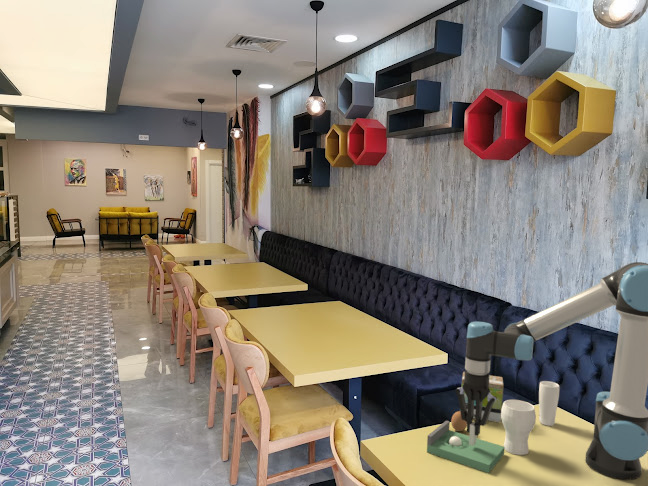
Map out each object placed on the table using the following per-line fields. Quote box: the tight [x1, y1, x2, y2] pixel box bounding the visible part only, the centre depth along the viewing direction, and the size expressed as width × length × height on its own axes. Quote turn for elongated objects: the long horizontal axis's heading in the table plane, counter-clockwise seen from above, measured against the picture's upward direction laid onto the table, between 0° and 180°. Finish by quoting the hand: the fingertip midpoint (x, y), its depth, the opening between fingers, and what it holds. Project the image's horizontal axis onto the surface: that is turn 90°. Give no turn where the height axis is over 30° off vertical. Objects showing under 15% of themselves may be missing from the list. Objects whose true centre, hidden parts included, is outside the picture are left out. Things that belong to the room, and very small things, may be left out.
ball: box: [449, 436, 462, 446], centre depth 166 cm, size 4×4×4 cm
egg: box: [450, 410, 467, 433], centre depth 180 cm, size 5×5×7 cm
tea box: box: [461, 371, 504, 423], centre depth 195 cm, size 15×10×15 cm, turn 73°
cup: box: [501, 399, 537, 456], centre depth 167 cm, size 11×11×15 cm
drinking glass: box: [538, 380, 560, 427], centre depth 189 cm, size 7×7×15 cm
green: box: [426, 420, 505, 474], centre depth 164 cm, size 20×15×6 cm
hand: (472, 443), depth 163 cm, fingers closed
